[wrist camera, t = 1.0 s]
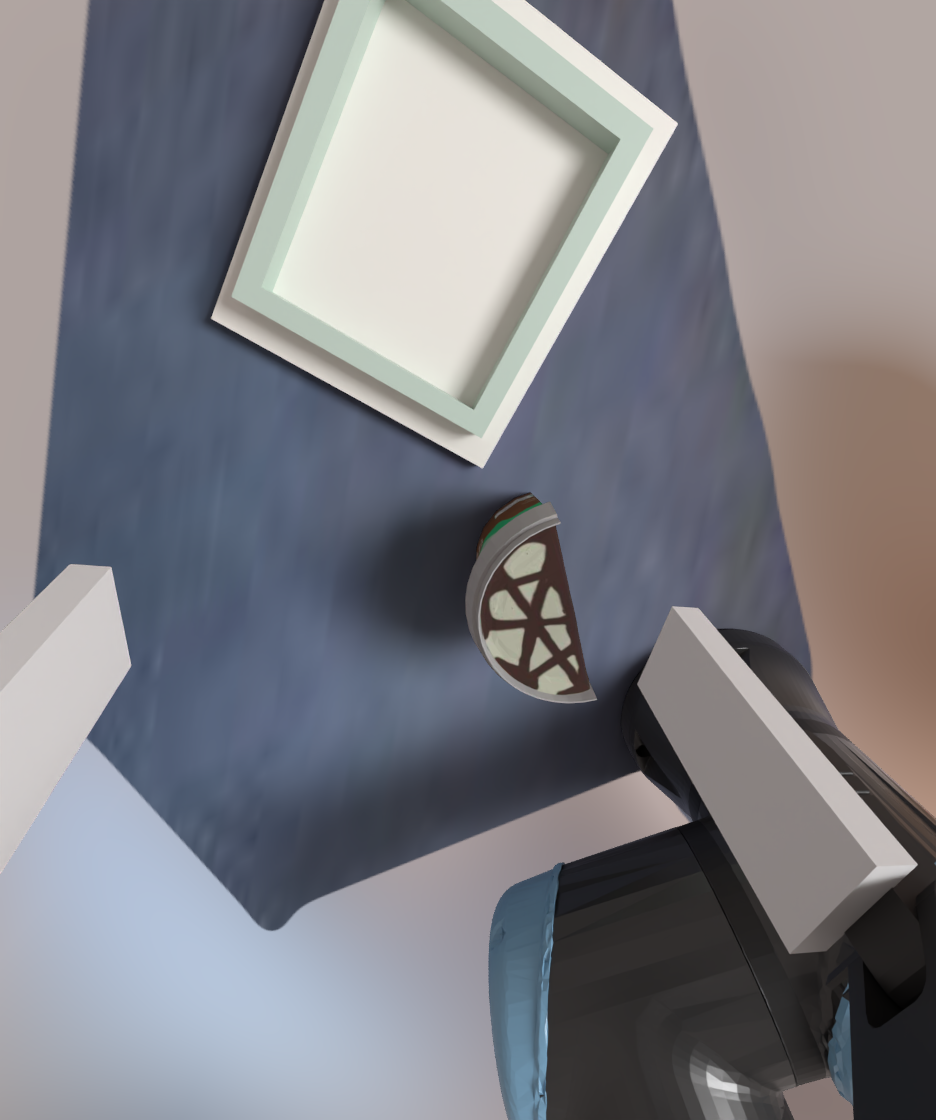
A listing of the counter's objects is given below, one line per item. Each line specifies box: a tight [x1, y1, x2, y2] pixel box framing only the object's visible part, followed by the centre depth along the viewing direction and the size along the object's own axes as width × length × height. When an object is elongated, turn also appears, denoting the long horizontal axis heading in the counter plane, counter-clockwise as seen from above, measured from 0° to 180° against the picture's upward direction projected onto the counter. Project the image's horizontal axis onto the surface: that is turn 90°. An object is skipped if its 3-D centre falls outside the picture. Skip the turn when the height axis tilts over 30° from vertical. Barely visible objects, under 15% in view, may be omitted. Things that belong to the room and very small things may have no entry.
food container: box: [465, 492, 597, 703], centre depth 33 cm, size 12×6×10 cm, turn 15°
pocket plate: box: [211, 0, 678, 468], centre depth 28 cm, size 18×21×3 cm
